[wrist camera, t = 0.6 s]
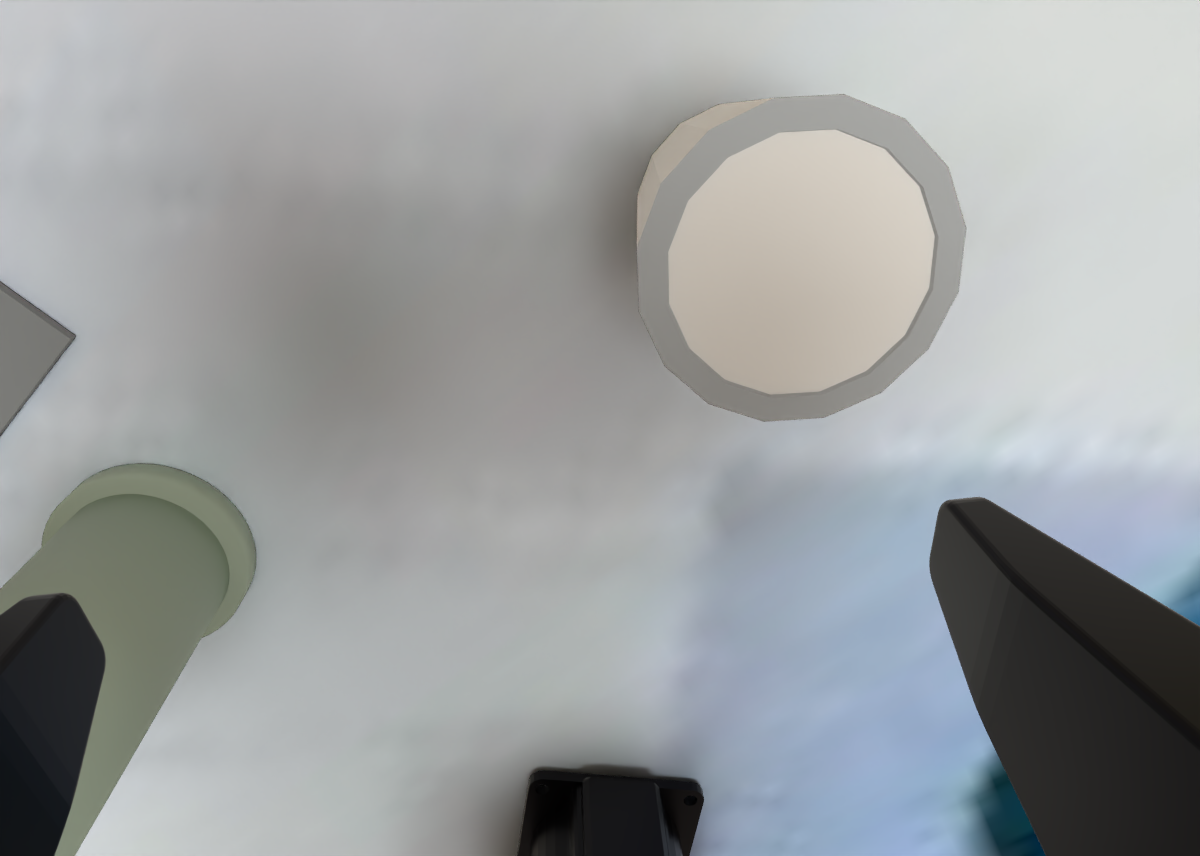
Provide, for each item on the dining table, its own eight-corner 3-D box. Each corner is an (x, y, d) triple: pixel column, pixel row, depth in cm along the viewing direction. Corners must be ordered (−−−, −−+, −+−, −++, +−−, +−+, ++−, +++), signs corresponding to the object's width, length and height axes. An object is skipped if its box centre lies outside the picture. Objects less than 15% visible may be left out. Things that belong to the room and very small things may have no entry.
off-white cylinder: (644, 353, 26) (674, 457, 20) (586, 114, 23) (598, 145, 17) (874, 295, 26) (980, 382, 19) (843, 45, 23) (956, 49, 16)
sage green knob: (256, 634, 29) (69, 1014, 18) (67, 617, 29) (-251, 999, 17) (255, 475, 27) (39, 798, 16) (49, 452, 26) (-333, 771, 15)
